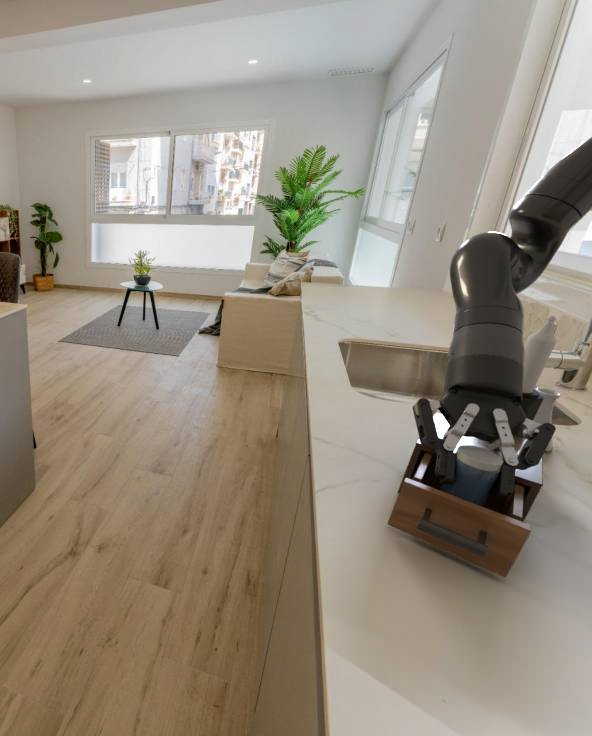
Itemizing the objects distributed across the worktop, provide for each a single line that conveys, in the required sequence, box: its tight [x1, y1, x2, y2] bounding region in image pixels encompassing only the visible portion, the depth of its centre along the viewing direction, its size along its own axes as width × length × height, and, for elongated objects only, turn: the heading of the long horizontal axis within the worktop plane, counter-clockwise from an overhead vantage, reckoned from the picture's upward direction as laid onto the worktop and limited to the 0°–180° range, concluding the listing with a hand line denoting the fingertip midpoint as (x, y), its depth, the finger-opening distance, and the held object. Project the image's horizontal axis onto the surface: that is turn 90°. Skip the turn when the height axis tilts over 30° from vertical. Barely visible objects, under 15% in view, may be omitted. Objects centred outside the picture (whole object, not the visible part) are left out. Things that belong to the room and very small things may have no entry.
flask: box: [525, 387, 562, 452], centre depth 75 cm, size 7×7×10 cm
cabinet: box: [397, 412, 544, 522], centre depth 61 cm, size 14×13×9 cm
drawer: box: [387, 452, 532, 579], centre depth 53 cm, size 17×11×7 cm
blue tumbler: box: [439, 445, 503, 507], centre depth 53 cm, size 4×4×8 cm
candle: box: [511, 315, 557, 438], centre depth 66 cm, size 5×5×25 cm
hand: (472, 489), depth 51 cm, fingers closed on blue tumbler, 4 cm apart
